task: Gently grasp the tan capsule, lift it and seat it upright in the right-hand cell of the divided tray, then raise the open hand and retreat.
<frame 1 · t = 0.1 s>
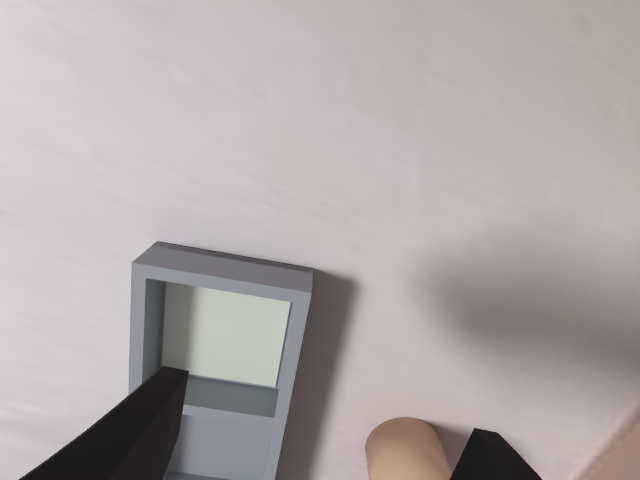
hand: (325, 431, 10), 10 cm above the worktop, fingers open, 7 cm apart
divided tray: (221, 377, 21), on the worktop
tan capsule: (402, 446, 23), on the worktop
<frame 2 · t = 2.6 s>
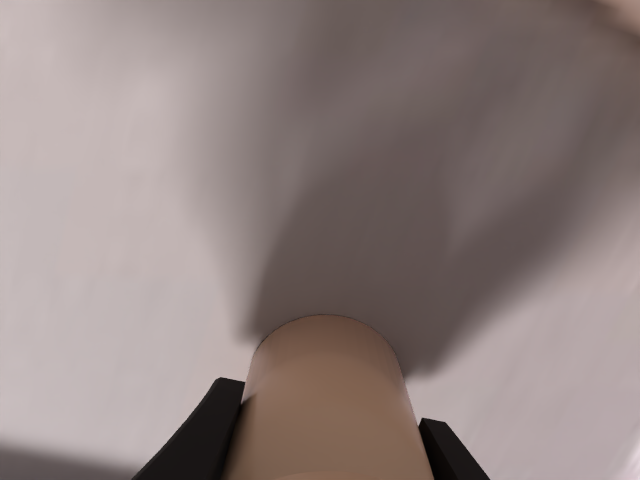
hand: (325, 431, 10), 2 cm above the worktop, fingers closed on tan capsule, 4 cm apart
tan capsule: (324, 381, 11), on the worktop, touching gripper
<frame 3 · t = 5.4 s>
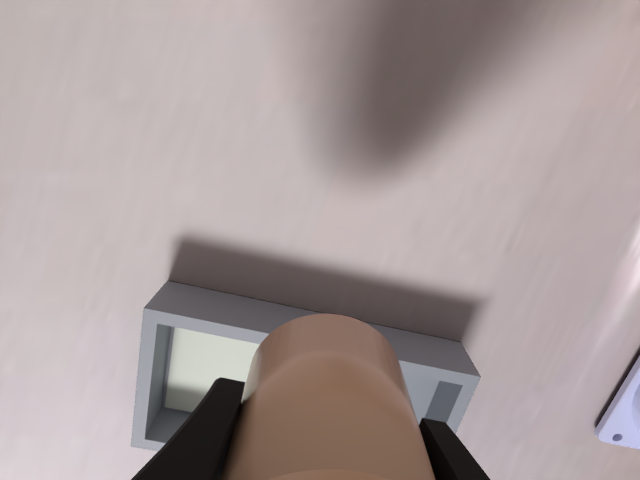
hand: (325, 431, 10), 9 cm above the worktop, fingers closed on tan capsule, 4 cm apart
divided tray: (301, 375, 20), on the worktop
tan capsule: (325, 380, 11), point 7 cm above the worktop, touching gripper
when the fingers open (4 cm above the worktop, at t = 8.2 s): tan capsule drops 1 cm, resting on divided tray.
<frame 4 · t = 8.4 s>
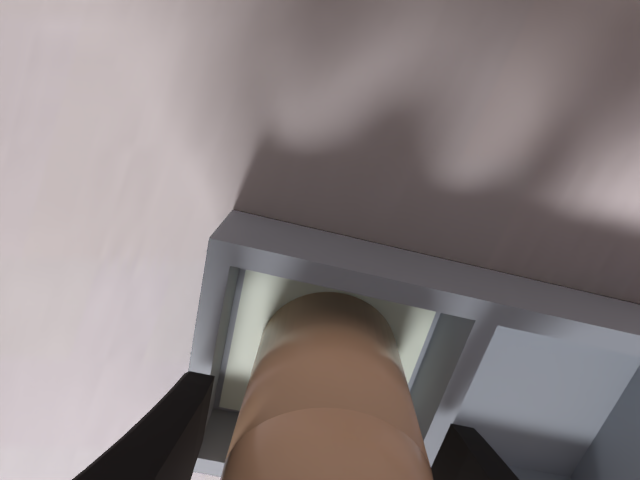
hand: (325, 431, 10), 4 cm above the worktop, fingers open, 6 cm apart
divided tray: (422, 361, 14), on the worktop
tan capsule: (327, 353, 13), point 1 cm above the worktop, touching divided tray
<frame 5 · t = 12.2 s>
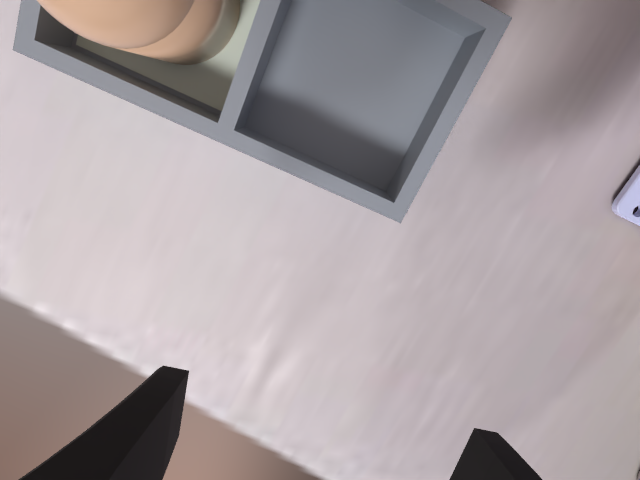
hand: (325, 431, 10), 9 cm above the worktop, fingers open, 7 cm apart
divided tray: (268, 45, 15), on the worktop
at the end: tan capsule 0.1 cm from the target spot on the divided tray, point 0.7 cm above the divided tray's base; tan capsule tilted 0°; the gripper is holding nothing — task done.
